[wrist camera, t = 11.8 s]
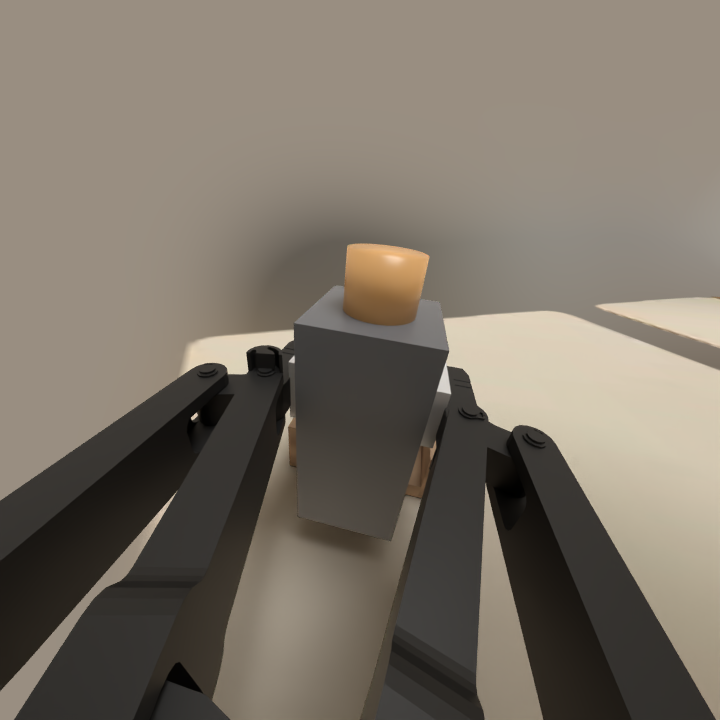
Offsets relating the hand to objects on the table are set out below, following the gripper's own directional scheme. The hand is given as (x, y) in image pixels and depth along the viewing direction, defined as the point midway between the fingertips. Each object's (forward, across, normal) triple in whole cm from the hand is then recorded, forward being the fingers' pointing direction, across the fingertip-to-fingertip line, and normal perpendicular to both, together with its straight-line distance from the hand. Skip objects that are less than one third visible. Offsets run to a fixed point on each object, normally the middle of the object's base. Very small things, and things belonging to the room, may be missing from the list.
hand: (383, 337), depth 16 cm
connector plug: (-5, 0, -6) cm, 8 cm away
